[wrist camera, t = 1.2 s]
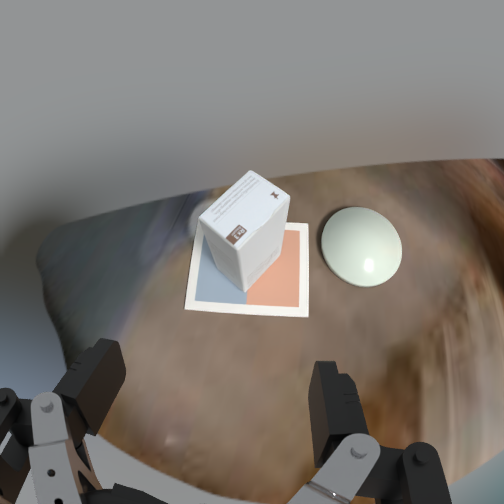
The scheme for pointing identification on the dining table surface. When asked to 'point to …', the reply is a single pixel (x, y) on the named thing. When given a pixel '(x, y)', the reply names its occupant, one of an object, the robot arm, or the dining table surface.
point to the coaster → (361, 247)
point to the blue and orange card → (263, 290)
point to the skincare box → (246, 228)
